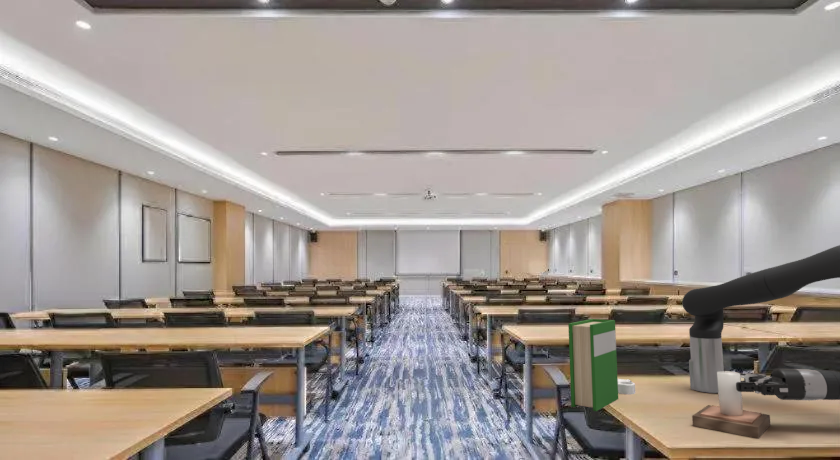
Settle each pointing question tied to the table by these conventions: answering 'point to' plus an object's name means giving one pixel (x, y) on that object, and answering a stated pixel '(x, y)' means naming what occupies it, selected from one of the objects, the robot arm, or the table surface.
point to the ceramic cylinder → (729, 393)
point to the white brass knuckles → (626, 386)
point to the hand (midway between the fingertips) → (728, 383)
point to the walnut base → (732, 421)
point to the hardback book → (593, 363)
